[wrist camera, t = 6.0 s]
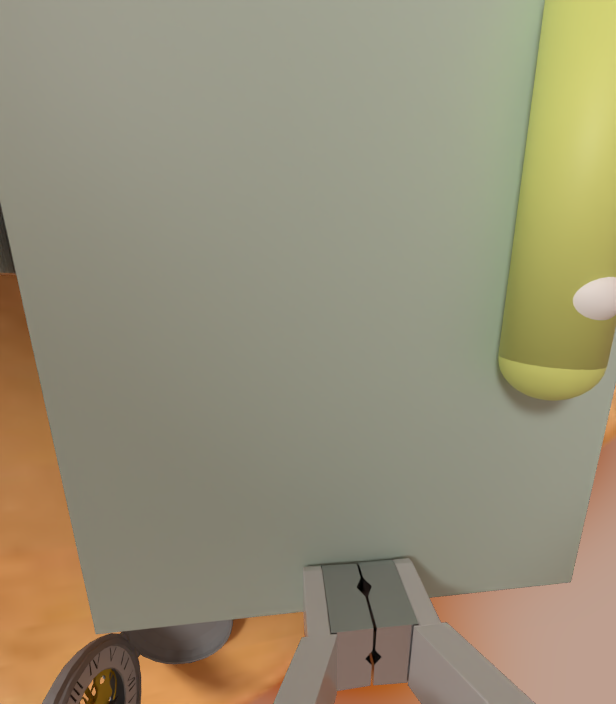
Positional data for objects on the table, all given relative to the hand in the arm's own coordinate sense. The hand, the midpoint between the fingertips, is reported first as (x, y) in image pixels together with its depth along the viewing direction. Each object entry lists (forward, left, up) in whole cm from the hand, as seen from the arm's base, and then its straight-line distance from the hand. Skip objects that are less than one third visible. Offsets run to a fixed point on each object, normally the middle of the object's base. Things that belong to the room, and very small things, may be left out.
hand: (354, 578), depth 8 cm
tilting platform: (-10, 0, -2) cm, 10 cm away
